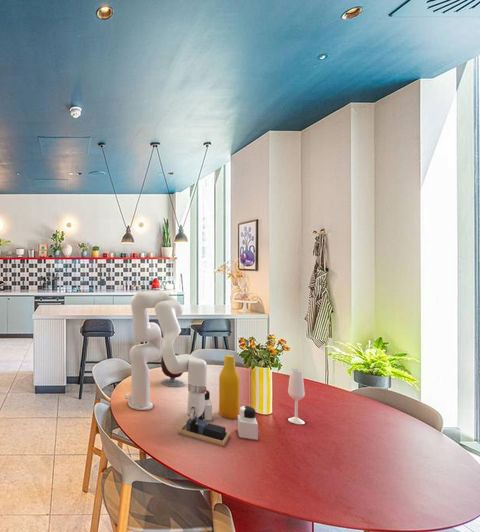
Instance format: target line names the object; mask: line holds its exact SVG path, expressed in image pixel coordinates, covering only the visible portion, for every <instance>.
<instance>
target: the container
mask: <svg viewBox="0 0 480 532" xmlns="http://www.w3.org/2000/svg"><path fill="white" fill-rule="evenodd" d="M210 396H211V395H210V391H209V390H208V389H206V394H205V409H204V412H203V420H205V421H212V420H213V404H212V401H211V399H210V398H211V397H210ZM194 416H196V415H195V414H194ZM194 418H195V417H194Z"/></svg>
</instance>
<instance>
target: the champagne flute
mask: <svg viewBox="0 0 480 532" xmlns="http://www.w3.org/2000/svg"><path fill="white" fill-rule="evenodd" d="M304 382H305V381H304V373H303V370H302V369H300V368H290V371H289V378H288V388H287V394H288V395H289V397H291V399H292V400H294V416H292V417H289V418H287V420H288V422H289V423H292V424H296V425H304V424H306V422H305V421H304V420H302V419H301V418H300V417H298V416H299V411H298V410H299V401H301V400H302V399H304V397H305V396H306V392H305V383H304Z"/></svg>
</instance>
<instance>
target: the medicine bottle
mask: <svg viewBox="0 0 480 532" xmlns="http://www.w3.org/2000/svg"><path fill="white" fill-rule="evenodd" d="M236 425H237V426H236V427H237V429H236V430H237V433H238V437H239V438H243V439H249V440H256V441H259V424H258V421H257V418H256V409H255V408H254V407H252V406H249V405H242V406H240V415H238V418H237V424H236Z"/></svg>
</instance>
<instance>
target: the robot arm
mask: <svg viewBox="0 0 480 532" xmlns="http://www.w3.org/2000/svg"><path fill="white" fill-rule="evenodd" d="M179 301H180V300H177V299H176V298H174V297H173V296H171V295H170V294H167V293H166V292H165V291H161V290H150V291H149V290H148V291H146V290H145V291H139V292H137V293H135V294H134V295H133V296H132V297H131V301H130V307H131V312H132V313H131V314H132V338H133V340H134V341H135V342H136V343H141V344H135V345H133V346H132V347H131V348H130V349H129V354H128V355H129V360H130V368H131V369H130V370H131V371H130V372H131V373H130V374H131V375H130V376H131V377H130V378H131V379H130V380H131V383H130V384H131V385H130V387H131V388H130V389H131V390H130V394H129V393H125V394H124V399H125V400H128V402H127V405H128V407H129V408H131V409H133V410H137V411H148V410H151V409H153V408H154V403H153V402H152V401H151V370H150V368H149V365H148V363H151V362H156V361H158V360H159V359H160V358H162V357H163V360H164V363H165V365H166V367H167V369H168V371H169V372H171V373H172V374H179V373H183V374H184V373H187V377H188V378H187V391H188V398H187V409H186V410H187V411H186V412H187V413H186V414H187V416H189V418H190V432H193V433H196V434H198V424H197V423H198V419H201V420H203V412H204V409H205V394H206V390H207V373H208V372H207V361H205V359H202V358H197V357H195V356H193V355H191V354H189V353H184V354H180V355H179V356H176V355H175V354H176V353H175V349H174V342H175V340H176V338H177V337H178V336H179V335H180V334H181V332H182V328H181V326H180V323H179V321H178V318H179V317H180V316H182V315H183V312H184V311H183V310H184V309H183V308H184V307H183V306H182V304H181V302H179ZM147 309H154V313H155V315H156V319H157V320H158V323H156V322H152V321H151V322H150V314H149V311H148V310H147ZM162 335H163V337H162ZM145 342H146V343H145ZM194 414H195V415H196V416H194ZM194 417H195V418H196V420H195V419H194Z"/></svg>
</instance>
